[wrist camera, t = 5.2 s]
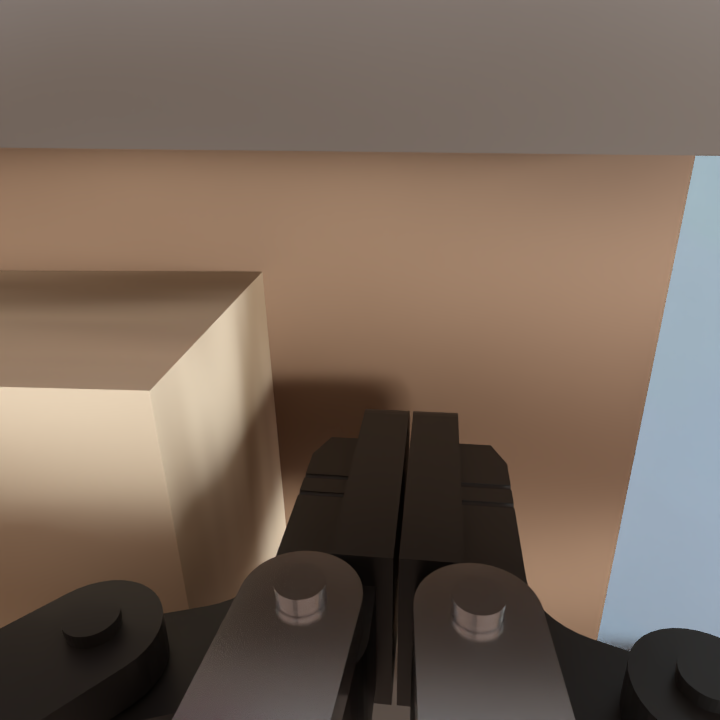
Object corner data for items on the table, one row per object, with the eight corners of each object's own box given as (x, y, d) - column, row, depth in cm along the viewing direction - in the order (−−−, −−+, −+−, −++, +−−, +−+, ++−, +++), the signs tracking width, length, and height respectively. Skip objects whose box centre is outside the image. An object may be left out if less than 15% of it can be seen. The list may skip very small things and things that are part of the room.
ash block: (-67, 270, 11) (-358, 378, 7) (262, 271, 11) (149, 390, 6) (16, 541, 14) (-167, 738, 9) (289, 556, 13) (219, 777, 9)
